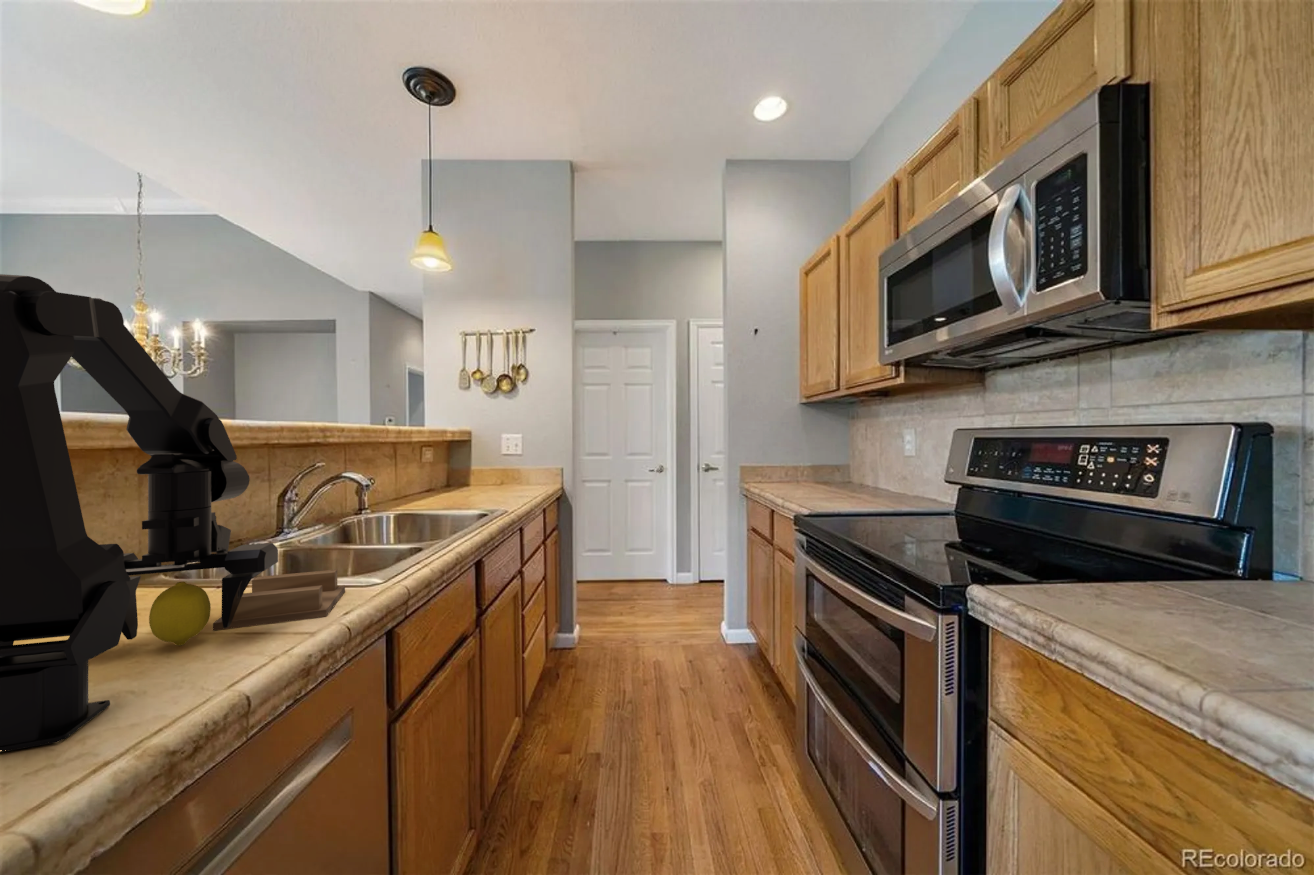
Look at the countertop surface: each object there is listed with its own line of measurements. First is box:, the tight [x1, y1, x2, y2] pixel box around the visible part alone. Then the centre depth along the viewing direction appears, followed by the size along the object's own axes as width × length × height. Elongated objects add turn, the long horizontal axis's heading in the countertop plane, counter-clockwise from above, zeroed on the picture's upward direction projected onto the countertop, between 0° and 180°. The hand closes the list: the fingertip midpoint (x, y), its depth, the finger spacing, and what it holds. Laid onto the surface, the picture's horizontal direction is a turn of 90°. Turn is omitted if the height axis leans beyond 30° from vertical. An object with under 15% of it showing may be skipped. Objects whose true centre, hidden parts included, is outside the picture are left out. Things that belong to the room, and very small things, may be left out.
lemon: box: [148, 581, 211, 646], centre depth 61 cm, size 6×6×8 cm
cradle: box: [212, 569, 346, 631], centre depth 74 cm, size 13×13×4 cm
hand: (180, 632), depth 61 cm, fingers open, 9 cm apart
